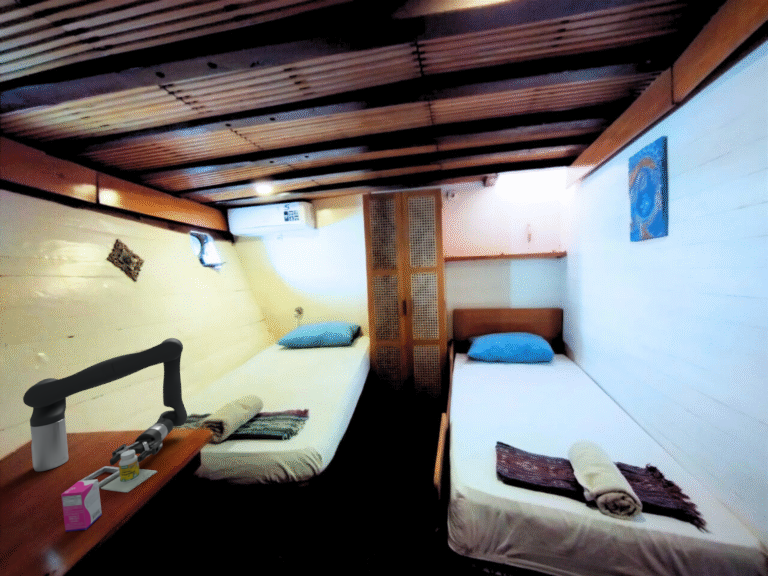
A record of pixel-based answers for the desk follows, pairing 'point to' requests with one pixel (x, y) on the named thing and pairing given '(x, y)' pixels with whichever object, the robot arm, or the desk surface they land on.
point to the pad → (126, 487)
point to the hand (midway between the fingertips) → (125, 461)
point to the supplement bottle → (128, 466)
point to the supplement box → (81, 505)
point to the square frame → (102, 470)
